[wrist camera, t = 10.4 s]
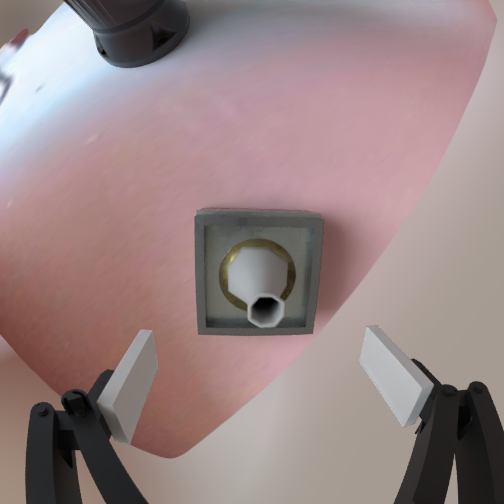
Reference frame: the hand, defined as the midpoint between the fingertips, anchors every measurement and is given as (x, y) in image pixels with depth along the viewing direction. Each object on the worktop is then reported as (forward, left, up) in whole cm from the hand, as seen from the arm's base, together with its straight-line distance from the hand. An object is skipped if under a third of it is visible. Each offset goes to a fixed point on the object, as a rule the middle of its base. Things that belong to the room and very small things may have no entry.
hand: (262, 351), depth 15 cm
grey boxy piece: (+1, +1, -23) cm, 23 cm away
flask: (0, +1, -17) cm, 17 cm away
